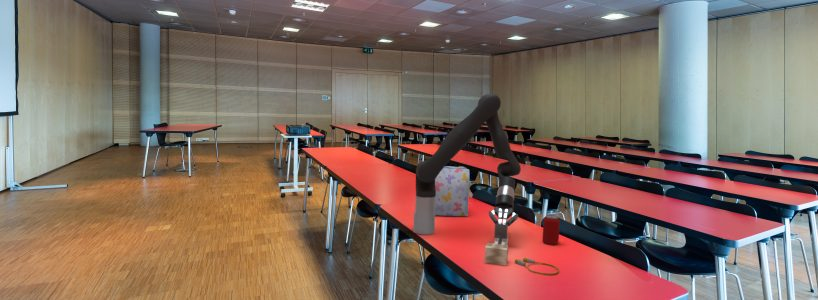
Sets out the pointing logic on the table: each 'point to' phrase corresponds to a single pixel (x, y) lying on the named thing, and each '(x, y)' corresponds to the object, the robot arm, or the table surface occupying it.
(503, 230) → the dark grey block
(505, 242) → the guide sleeve
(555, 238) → the beverage can
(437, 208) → the lunch bag
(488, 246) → the socket block
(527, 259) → the extension cord
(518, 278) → the table surface
